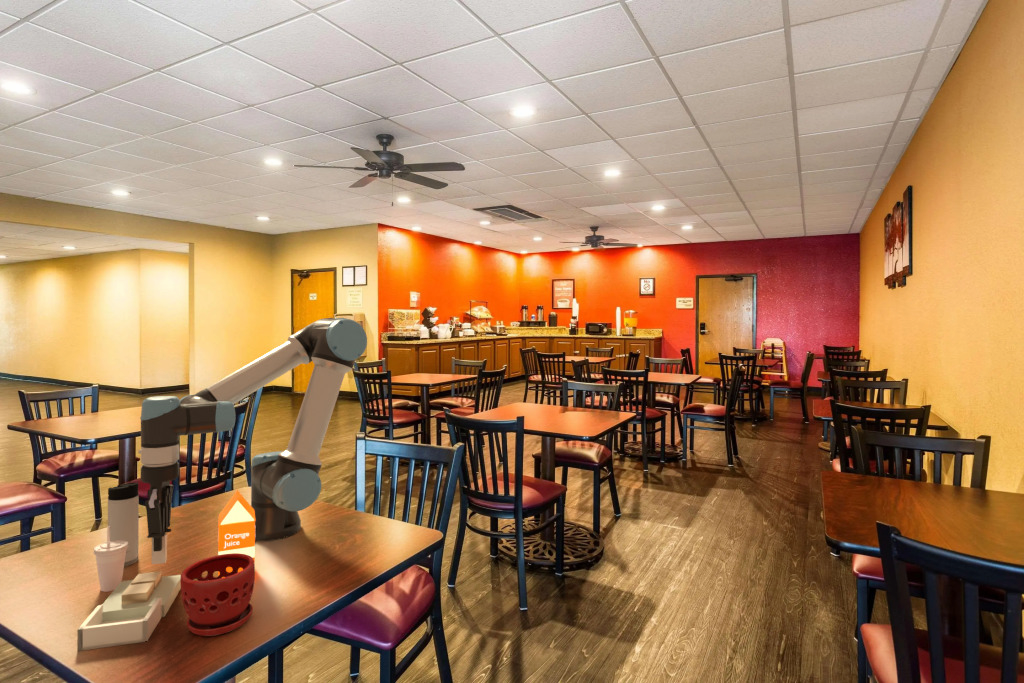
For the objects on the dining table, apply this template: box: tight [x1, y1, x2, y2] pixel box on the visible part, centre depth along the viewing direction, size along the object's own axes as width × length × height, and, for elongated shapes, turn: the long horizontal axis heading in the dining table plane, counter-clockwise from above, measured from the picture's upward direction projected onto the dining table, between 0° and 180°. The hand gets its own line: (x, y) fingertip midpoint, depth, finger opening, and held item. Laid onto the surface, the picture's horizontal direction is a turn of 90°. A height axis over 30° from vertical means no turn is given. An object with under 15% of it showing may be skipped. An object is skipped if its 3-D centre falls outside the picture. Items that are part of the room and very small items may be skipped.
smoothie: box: [92, 525, 129, 593], centre depth 122 cm, size 6×6×14 cm
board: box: [101, 574, 181, 622], centre depth 116 cm, size 12×14×2 cm
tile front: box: [121, 582, 154, 605], centre depth 113 cm, size 4×4×2 cm
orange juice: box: [217, 489, 256, 578], centre depth 128 cm, size 8×9×20 cm
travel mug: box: [107, 482, 140, 568], centre depth 135 cm, size 6×7×20 cm
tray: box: [76, 598, 163, 652], centre depth 105 cm, size 11×9×4 cm
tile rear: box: [131, 570, 163, 590], centre depth 118 cm, size 4×4×2 cm
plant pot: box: [180, 553, 256, 637], centre depth 108 cm, size 13×13×12 cm
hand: (159, 562), depth 127 cm, fingers closed
